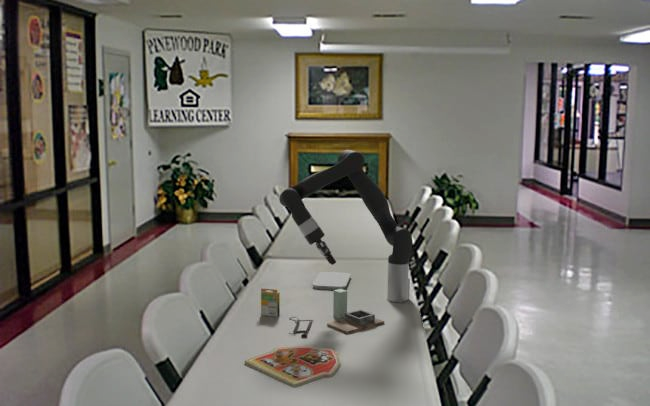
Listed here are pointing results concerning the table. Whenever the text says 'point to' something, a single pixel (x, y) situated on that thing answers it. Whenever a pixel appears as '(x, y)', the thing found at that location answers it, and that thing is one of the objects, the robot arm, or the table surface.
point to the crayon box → (270, 303)
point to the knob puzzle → (297, 364)
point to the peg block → (340, 303)
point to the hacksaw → (301, 331)
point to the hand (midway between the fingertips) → (333, 263)
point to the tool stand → (355, 322)
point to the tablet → (331, 280)
